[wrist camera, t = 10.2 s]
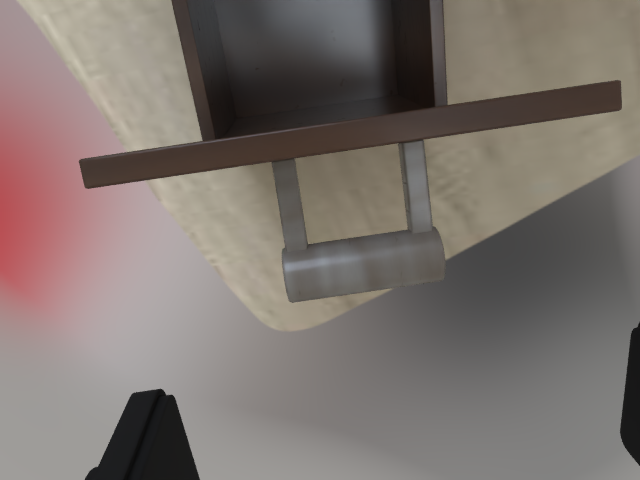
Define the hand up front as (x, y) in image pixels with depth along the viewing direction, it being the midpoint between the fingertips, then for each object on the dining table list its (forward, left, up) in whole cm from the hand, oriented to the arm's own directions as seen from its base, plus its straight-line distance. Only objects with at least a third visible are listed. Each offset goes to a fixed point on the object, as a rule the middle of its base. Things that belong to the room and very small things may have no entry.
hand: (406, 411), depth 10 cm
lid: (-3, +2, -13) cm, 14 cm away
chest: (-7, +6, -34) cm, 35 cm away
